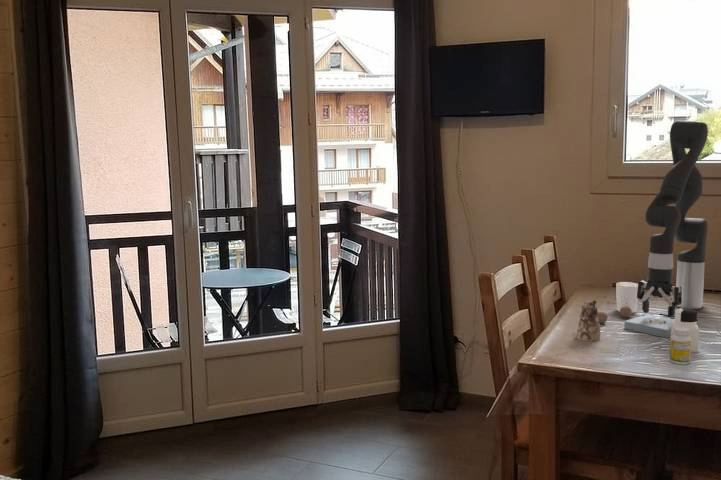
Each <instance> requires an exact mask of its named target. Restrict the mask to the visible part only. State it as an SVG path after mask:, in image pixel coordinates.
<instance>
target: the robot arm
mask: <svg viewBox="0 0 721 480" xmlns="http://www.w3.org/2000/svg"><path fill="white" fill-rule="evenodd" d="M708 133H709V129H708V125H707V123H705V122H703V121H699V120H698V121H697V120H695V121H693V120H682V119H681V120H675V121H674V122H673V123H672V124H671V126H670V130H669V140H670V141H669V143H670V149H671V157H672V165H673V166H672V167H670V169H669V170H668V171H667V173H666V174H665V175H664V177H663V179H662V183H661V185H660V189H659V191H658V192H657V194H656V195H655V197H654V198H653V200H652V202H651V203H650V204H649V206H648V207H647V209H646V212H645V214H644V215H645V222H646V224H647V225H649V226H651V227H654V228H655V227H656V228H657V227H658V228H664V229H665V230H664V231H663V232H662V233H656V234H653V235H651V236H650V240H649V254H648V255H649V256H648V261H647V281H645V280H640V281H638V282H637V284H638V291H637V298H638V300H641V303H642V307H641V308H642V311H643V313H645V314H648V313H649V312H650V301H649V300H650V299H651V298H652V297H655V298H656V297H658V298H663V300H664V301H666V302H667V305H668V307H667V308H668V309H667V318H671V319H672V318H673V317H675V310H676V307H679V308H689V309H693V310H695V309H696V310H697V309H701V308H703V298H704V286H705V284H704V283H705V281H704V280H705V261H706V245H707V237H708V229H709V227H708V221H707V219H706V218H697V217H686V215H687V213H688V211H690V209H691V208H692V207H693V206H694V204H695V203H697V202H698V201H699V200H700V198H701V196H702V193H703V176H702V173H701V172H700V169H699V168H698V167H697V166H696V164H697V161H698V160H699V158H700V156H701V153H702V151H703V150H704V147H705V145H706V143H707V140H708V139H707V138H708ZM686 149H688V152H687V151H686ZM674 205H675V206H674ZM675 239H676V241H677V242H678V243H679V242H680V243H687V244H688V243H689V244H695V246H694V247H693V248H691V249H688V250H684V251H681V252H678V255H677V262H676V263H677V265H676V280H675V281H676V283H675V286H674V285H673V283H672V282H673V273H674V240H675ZM646 288H647V289H648V291H646ZM645 291H646V293H645ZM671 292H672V293H673V294H672V293H671ZM673 295H674V296H673Z"/></svg>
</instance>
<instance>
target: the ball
mask: <svg viewBox="0 0 721 480" xmlns="http://www.w3.org/2000/svg"><path fill="white" fill-rule="evenodd" d="M651 323H655V324H664V321H663V320H662V319H661V318H659V317H655V318H653V319H652V321H651Z"/></svg>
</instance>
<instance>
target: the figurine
mask: <svg viewBox="0 0 721 480" xmlns="http://www.w3.org/2000/svg"><path fill="white" fill-rule="evenodd" d="M596 304H597V300H593V301H589V300H586V301H585V302H584V303H583V304H582V305H581V313H580V314H579V315H578V317H579V320H578V321H579V322H578V327H577V331H576V333H577V334H576V335H577V336H576V338H577V339H578V340H581V341H586V342H596V341H599V340H600V338H601V333H602V332H601V323H599V320H598V318H597V314H598V312H599V311H598V308H597V307H596Z"/></svg>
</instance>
